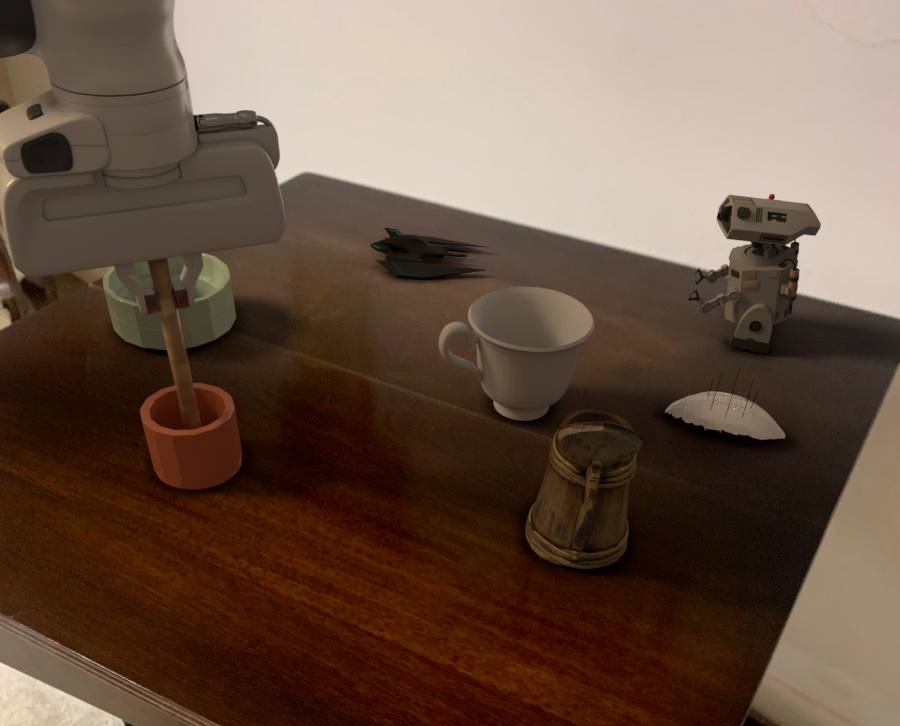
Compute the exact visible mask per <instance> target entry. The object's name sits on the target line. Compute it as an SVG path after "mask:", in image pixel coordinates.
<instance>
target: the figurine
mask: <svg viewBox="0 0 900 726" xmlns="http://www.w3.org/2000/svg"><path fill="white" fill-rule="evenodd" d="M775 197H776V196H775V194H774V193H770V194H769V195H768V198H763V197H752V196H745V195H735V194H728V195H727V196H726V198H724V200H723V201H722V202H721V203H720V205H719V206H718V211H717V214H716V222H717V225H718V226H719V229H720V230H721V232H722V234H723V236H724V237H725V239H726V240H733V241H741V242H750V243H749V244H743V245H741V246H739V245H738V246H736V247H733V248H732V249H731V250H730V252H729V256H728V261H729V264H727V263H725V264H722V265H721V266H720V268H718V269H717V268H716V269H715V270H714V269H710V270H709V271H708V272H707V274H705V273H704V274H703V273H702V271H701V269H700V268H699V267H698V268H697V270H696V272H695V275H697V273H698V274H699V279H698V280H694V282H695V285H696V286H698V285H699V284H700V283H701V281H703V279H704V280H706V281H707V282H708V283H710V284H714V283H715V282H716V281H717V280H718V279H721V278H722V277H723V278H727V284H726V294H725V293H718V294H717V295H716V296H715V298H712V299H710V300H707V299H706V300H703V298H702V297H701V296H700V295H699V291H698V289H697V288H696V289H695V290H694V291H692V292H691V293H690V294H689V296H688V301H689V302H690V301H696V302H698V303H699V304H700V305H699V308H698V309H699V311H700V312H701V314H703V315H707V314H709V313H710V312H712V310H713V309H717V308H718V307H719V308H720V307H721V308H722V307H724V312H723V313H724V314H723V315H724V320H725V321H729V322H730V323H733V324H735V325H737V326H736V328H735V331H734V332H733V333H732V335H731V337H730V339H729V344H728V346H729V347H731V349H732V350H733V351H734V350H737V349H738V350H739V351H740V352H744V351H745V350H750V353H752V354H755V353H756V352H757V354H759V355H763V354H764V353H767V354H768V353H769V350H770V349H769V348H770V345H771V344H770V343H771V335H772V330H773V326H775V325H777V324H779V323H781V322H783V321H786V320H788V317H789V315H792V312H793V305H794V301H795V300H797V296H798V295H797V292H798V289H799V288H798V287H799V280H800V271H801V269H800V268H798V264H799V259H798V258H799V253H800V242H798V241H797V239H799V238H800V237H802V236H812V237H813V236H814V237H815V236H816V235H817V234H818V233H819V231H820V230H821V228H822V227H821V226H822V222H821V221H820V219H819V217H818V216H817V214H816V212H815V210H814V209H813V208H812V207H811V205H810V204H809V203H804V202H795V201H788V200H787V201H786V200H781V199H775ZM789 244H790V246H788V245H789ZM694 294H695V297H692V295H694Z"/></svg>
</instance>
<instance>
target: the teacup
mask: <svg viewBox="0 0 900 726" xmlns="http://www.w3.org/2000/svg"><path fill="white" fill-rule="evenodd" d="M467 318H468V322H469V325H470V326H471V327H472V329H473V331H472V332H470V328H469V326H468V325H467V324H465V322H462V321H453V322H449V323H447V324H446V325H445V326H444V327H443V328H442V330H441V332H440V334H439V338H438V350H439V353H440V355H441V357H442V359H443V360H444V361H445V362H446V363H447V364H449V365H450V366H451V367H454V368H457V369H460V370H465V371H468V372H470V373H472V374H473V375H474V376H475V377H476V378H477V379H478V380H479V382H480V385H481V388H482V389H483V391H484V393H485V394H486V395H487V397H489V398H490V399H491V400H492V401H493V403H492V404H493V408H494V409H495V411H496V412H497V413H498V414H499V415H501V416H503V417H505V418H507V419H510V420H514V421H522V422H529V421H534V420H538V419H540V418H542V417H544V416H545V415H546V414H547V413H548V411H549V408H550V407H551V406H552V405H554V404H556V403H557V402H558V401H559V400H561V399H562V397H563V396H564V395H565V394H566V392H567V390H568V388H569V387H570V384H571V382H572V379H573V375H574V373H575V369H576V366H577V363H578V359H579V356H580V352H581V349H582V347H583V344H584V341H586V340H587V339H589V337H590V336H591V335H592V334H593V332H594V329H595V320H594V316H593V315H592V313H591V312H590V310H589V309H588V308H587V306H585V305H584V304H583V303H582V302H581V301H579V300H578V299H576V298H575V297H573V296H571V295H568V294H566V293H564V292H560V291H557V290H554V289H550V288H546V287H538V286H526V285H525V286H524V285H523V286H522V285H521V286H520V285H519V286H508V287H502V288H498V289H494V290H492V291H489V292H487V293H484V294H483V295H481V296H480V297H478V298H477V299H476V300H474V302H472V304H471V305H470V306H469V309H468V311H467ZM458 335H459V336H463V337H464V341H465V344H466V345H467V346H469V347H472V346H473V345H475V344H476V357H477V358H476V361H477V362H476V363H477V365H476V364H474V363H473V362H472V361H470V360H468V359H466V358H463V357H461V356H458V355H455V354H454V353H453V352H451V350H450V349H449V343H450V340H451V339H452V338H453V337H455V336H458Z"/></svg>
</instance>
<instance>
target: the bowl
mask: <svg viewBox="0 0 900 726" xmlns="http://www.w3.org/2000/svg"><path fill="white" fill-rule="evenodd" d="M167 260H168V265H169V270H170V275H171V279H172V280H176V279H180V276H181V273H182V270H183V267H184V265H185V264H184V262H183V260H182V258H181V256H179V257H172V258H167ZM202 260H203V268H202V270H201V273H200V275H199V277H198V280H197V282H196V284H195V287H193V291H194V297H195V303H196V306H194V307H188V308H182V309H178V313H179V318H180V323H181V328H182V332H183V337H184V342H185V347H186V350H187V349H191V348H195V347H199V346H202V345H205V344H207V343H210V342H213V341H216V340H217V339H218V338H220V337H221V336H223V335H224V334H226V333H227V332H229V331H230V330H231V328H232V327H233V325H234V323H235V321H236V319H237V313H236V306H235V300H234V291H233V285H232V284H233V283H232V278H231V274H230V269H229V266H228V265H227V264H226V263H224V262H223V260H220V258H219V257H217V256H216V255H212V254H209V253H202ZM134 265H135V270H136V275H135V278H136V279H137V280H138V281H139V282H140V283H141V284H150V283H152V280H151V275H150V271H149V266H148V262H147V261H145V262H138V263H134ZM152 285H153V284H152ZM102 287H103V288H102V289H103V293H104V297H105V300H106V304H107V305H106V306H107V309H108V312H109V317H110V320H111V324H112V327H113V331H114V332H115V333H116V334H117V335H118V336H119V337H120V338H121V339H122V340H123V341H124V342H126V343H130V344H132V345H134V346H137V347H140V348H143V349H152V350H160V351H167V347H166V343H165V338H164V334H163V329H162V325H161V320H160V316H159V312H157V313H152V314H146V315H141V313H140V310H139V307H138V304H137V300H136V296H135V295H134V294H133V293H132V292H131V291H130V290H129V289H128V288H127V287H126V286H125V285H124V284H123V283H122V282H121V281H120V280H119V279H118V276H117V274H116V271H115V268H114V266H111V267H109V269H108V270H107V271H106V272H105V274H104V275H103V276H102Z"/></svg>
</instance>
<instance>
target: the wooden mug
mask: <svg viewBox="0 0 900 726" xmlns="http://www.w3.org/2000/svg"><path fill="white" fill-rule="evenodd" d="M550 445H551V446H550V448H549V453H548V458H549V459H548V460H549V461H548V465H547V468H546V471H545V474H544V475H543V479H542V482H541V485H540V488H539V491H538V494H537V495H536V496H537V497H536V500H535V502H534V503H533V504H532V506H531V507H530V509H529V512H528V515H527V518H526V522H525V528H524V533H525V538H526V540H527V542H528V545H529V547H530V549H532V550H533V551H534V553H535V554H536V555H538V556H539V557H540V558H541V559H544V560H546V561H548V562H550V563H552V564H555V565H558V566H561V567H563V568H568V569H576V570H582V571H583V570H586V571H587V570H596V569H600V568H605V567H607V566H609V565H612V564H614V563H616V562H618V561H619V560H620V558H621V557H622V556H623V555H624V553H625V552H626V551H627V547H628V539H629V533H630V532H629V531H630V530H629V520H628V506H629V494H630V483H631V480H632V479H633V478H635V474H636V471H637V454H638V453H639V452H641V450H642V448H643V446H644V438H643V436H642V435H641V434H639V433H638V432H636V430H635V431H634V429H633V426H632V424H630V423H629V422H628V421H627V420H626V419H625V418H623V417H621V416H619V415H618V414H616V413H614V412H612V411H609V410H602V409H596V408H581V409H577V410H574V411H572V412H571V413H569V414H568V415H566V416H565V417H563V420H562V421H561V424H560V427H559V429H557V431H556V432H555V434H554V437H553V439H552V442H551V444H550Z"/></svg>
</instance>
